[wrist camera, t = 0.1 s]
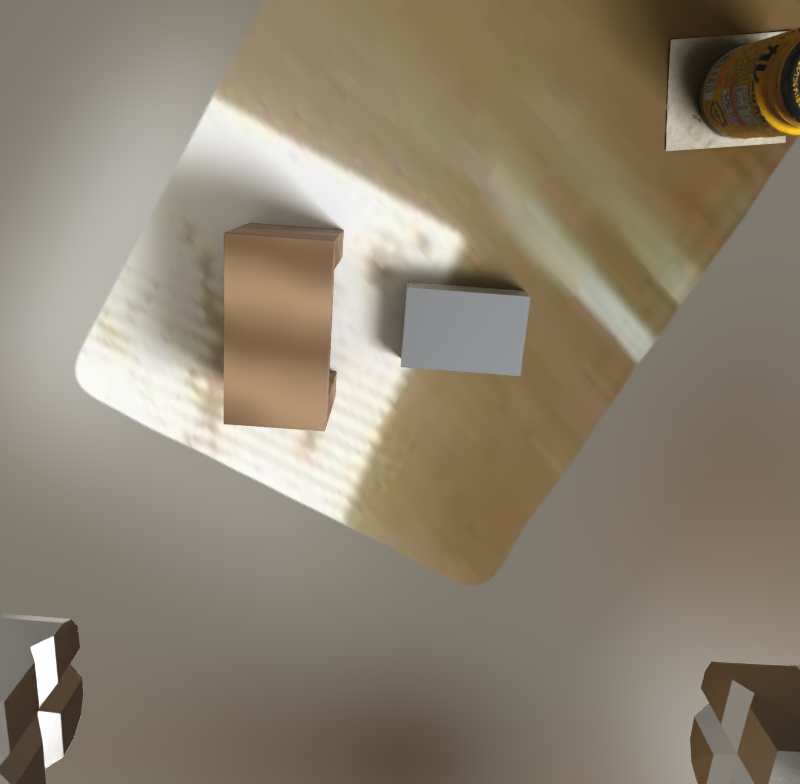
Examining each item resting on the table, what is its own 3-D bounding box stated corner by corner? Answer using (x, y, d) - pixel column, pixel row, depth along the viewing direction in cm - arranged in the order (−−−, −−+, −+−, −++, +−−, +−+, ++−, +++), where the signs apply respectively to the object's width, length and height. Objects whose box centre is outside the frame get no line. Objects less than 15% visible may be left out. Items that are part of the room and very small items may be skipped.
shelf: (249, 223, 55) (224, 233, 47) (343, 230, 55) (333, 241, 47) (247, 389, 59) (223, 424, 51) (335, 396, 59) (324, 431, 51)
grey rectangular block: (407, 281, 56) (407, 287, 53) (524, 290, 56) (530, 296, 54) (401, 357, 58) (400, 367, 55) (514, 365, 58) (520, 376, 55)
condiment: (784, 142, 53) (888, 137, 41) (665, 151, 53) (736, 148, 42) (793, 30, 51) (906, -7, 39) (669, 40, 51) (745, 5, 39)
